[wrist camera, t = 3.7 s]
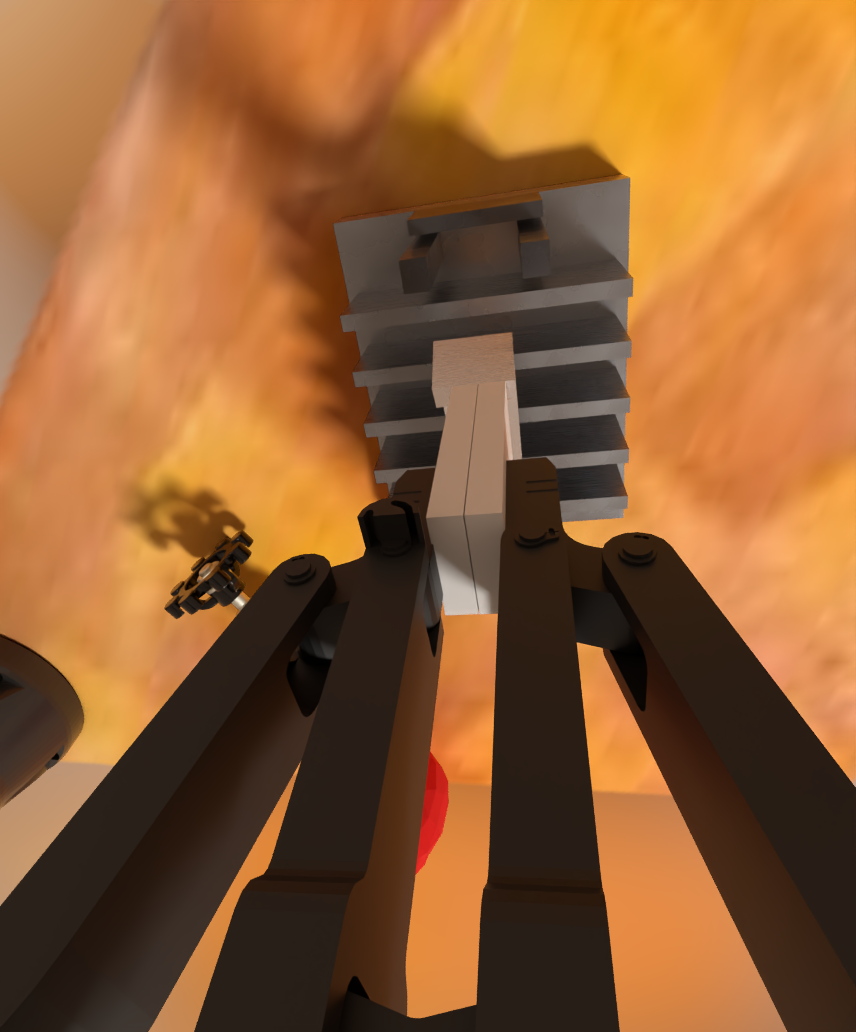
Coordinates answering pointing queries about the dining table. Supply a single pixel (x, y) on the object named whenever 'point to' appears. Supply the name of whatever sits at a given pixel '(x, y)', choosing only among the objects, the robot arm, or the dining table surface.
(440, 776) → the tomato
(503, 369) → the grey long bar
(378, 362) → the heatsink
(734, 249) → the dining table surface
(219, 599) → the valve
